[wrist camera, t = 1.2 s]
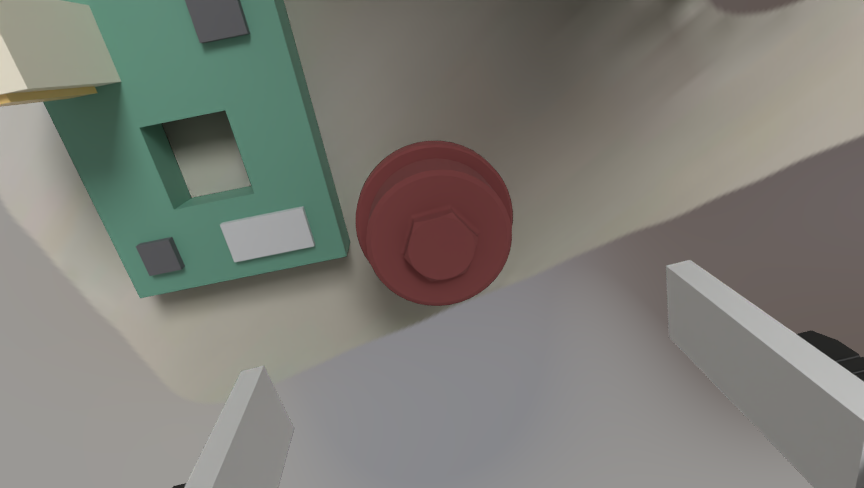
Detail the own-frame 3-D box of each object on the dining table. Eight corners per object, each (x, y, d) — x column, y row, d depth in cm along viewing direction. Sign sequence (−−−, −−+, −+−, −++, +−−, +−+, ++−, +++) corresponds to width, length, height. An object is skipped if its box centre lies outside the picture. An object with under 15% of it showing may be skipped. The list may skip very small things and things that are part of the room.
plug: (16, 19, 27) (-123, 4, 20) (88, 5, 27) (-25, -16, 20) (56, 101, 29) (-59, 115, 22) (123, 88, 29) (32, 97, 22)
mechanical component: (336, 191, 36) (427, 97, 34) (426, 270, 39) (514, 189, 37) (310, 252, 24) (444, 115, 22) (439, 357, 28) (567, 246, 25)
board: (17, -22, 29) (-32, -33, 26) (263, -72, 29) (246, -89, 26) (158, 280, 37) (136, 302, 34) (350, 241, 37) (345, 259, 34)
